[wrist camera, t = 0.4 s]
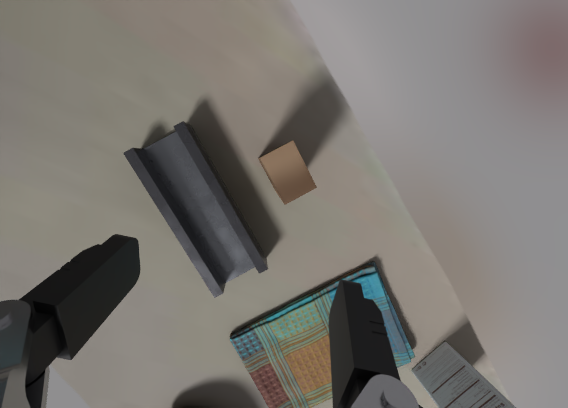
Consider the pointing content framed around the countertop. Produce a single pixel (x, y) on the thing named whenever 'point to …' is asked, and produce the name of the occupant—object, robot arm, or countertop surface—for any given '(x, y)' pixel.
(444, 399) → the supplement box
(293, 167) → the tan wooden pillar block
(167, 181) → the floor track
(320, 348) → the dish towel
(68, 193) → the countertop surface
